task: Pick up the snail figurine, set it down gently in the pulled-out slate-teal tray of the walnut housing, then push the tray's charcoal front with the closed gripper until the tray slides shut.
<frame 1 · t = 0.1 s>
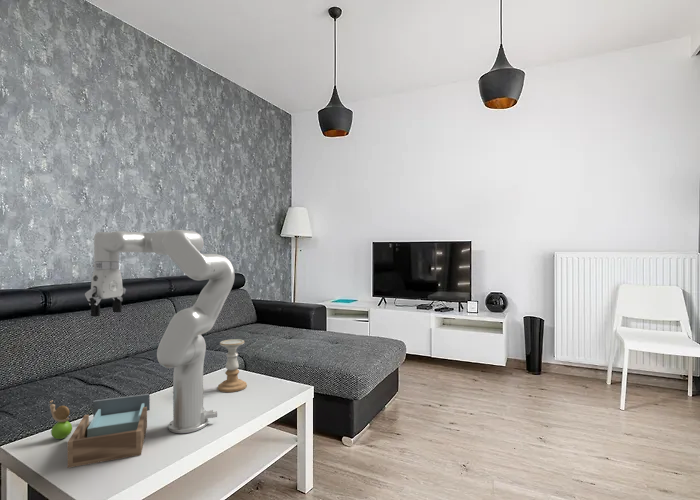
hand: (106, 314, 144), 37 cm above the table, tool pointing down, fingers open, 9 cm apart
snail figurine: (60, 438, 128), on the table
tray: (118, 414, 136), point 4 cm above the table, slide at 12.0 cm
candle holder: (232, 388, 175), on the table
housing: (111, 445, 123), on the table
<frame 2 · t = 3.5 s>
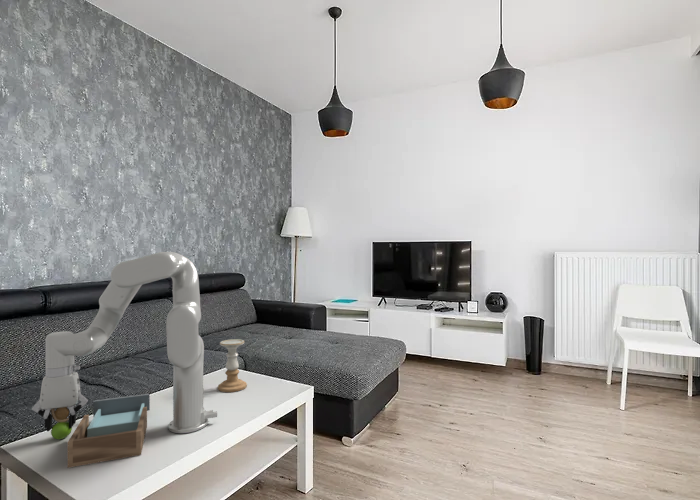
hand: (60, 427, 128), 3 cm above the table, tool pointing down, fingers closed on snail figurine, 5 cm apart
snail figurine: (60, 439, 128), on the table, touching gripper
everything else where it was.
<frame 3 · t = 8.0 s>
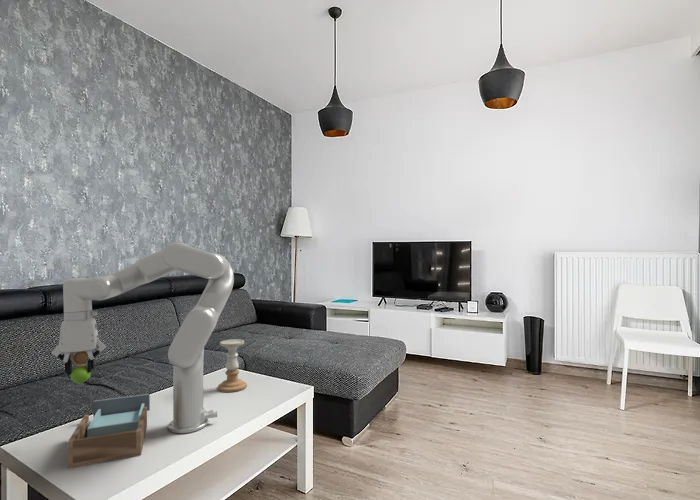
hand: (80, 371, 130), 21 cm above the table, tool pointing down, fingers closed on snail figurine, 5 cm apart
snail figurine: (79, 383, 129), point 17 cm above the table, touching gripper
everything else where it was.
when the fingers open (7 cm above the table, at t = 12.0 s): snail figurine stays where it is, resting on tray.
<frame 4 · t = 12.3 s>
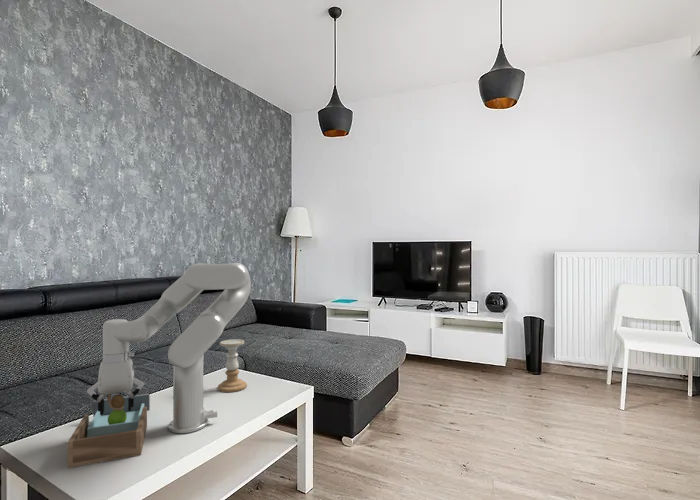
hand: (116, 410, 132), 7 cm above the table, tool pointing down, fingers open, 7 cm apart
snail figurine: (115, 426, 132), point 2 cm above the table, touching tray
tray: (118, 414, 136), point 4 cm above the table, slide at 12.0 cm, touching snail figurine
everything else where it was.
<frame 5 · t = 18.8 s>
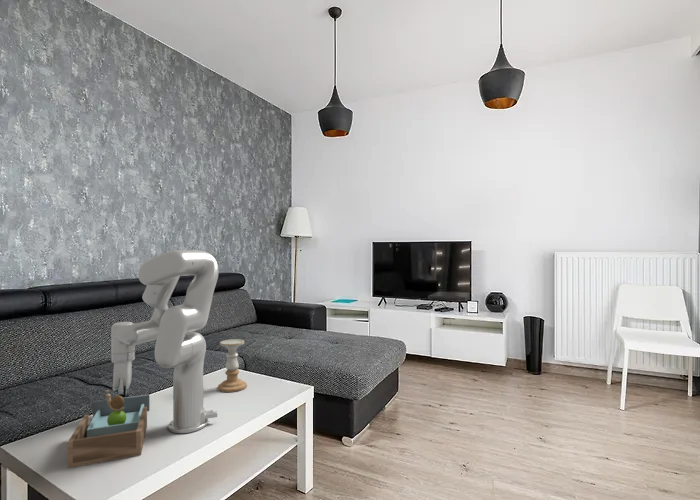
hand: (123, 406, 147), 3 cm above the table, tool pointing down, fingers closed
tray: (118, 415, 135), point 4 cm above the table, slide at 11.2 cm, touching gripper, snail figurine
everything else where it was.
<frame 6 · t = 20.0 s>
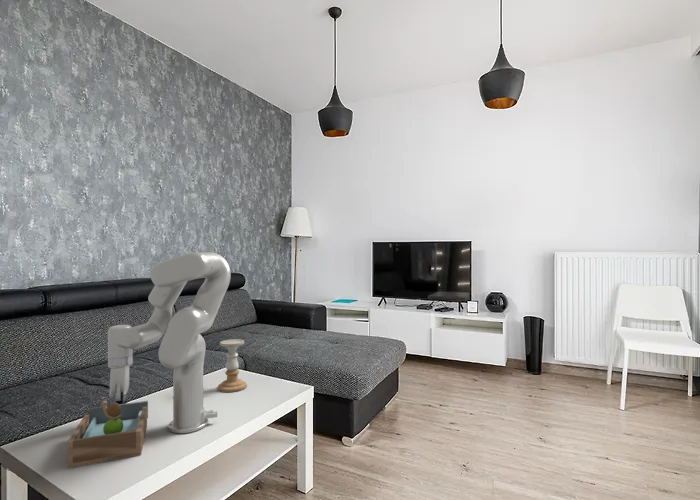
hand: (120, 413, 140), 3 cm above the table, tool pointing down, fingers closed
snail figurine: (111, 436, 125), point 2 cm above the table, touching tray
tray: (114, 423, 129), point 4 cm above the table, slide at 4.4 cm, touching gripper, snail figurine
everything else where it was.
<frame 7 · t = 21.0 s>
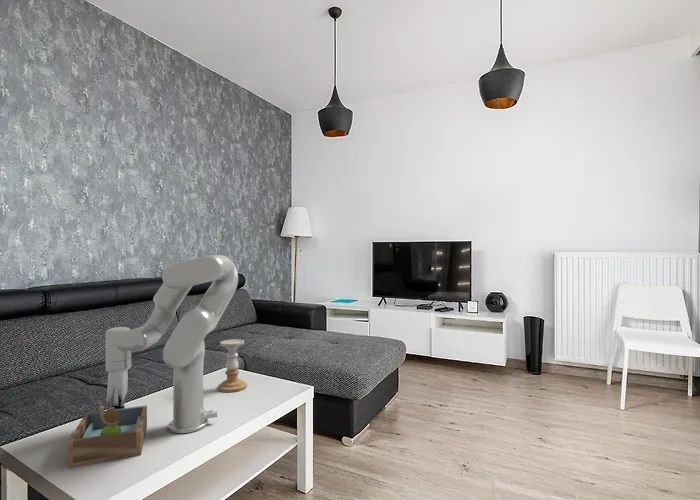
hand: (118, 418, 136), 3 cm above the table, tool pointing down, fingers closed
snail figurine: (109, 443, 121), point 2 cm above the table, touching tray
tray: (112, 429, 125), point 4 cm above the table, slide at -0.2 cm, touching gripper, snail figurine
everything else where it was.
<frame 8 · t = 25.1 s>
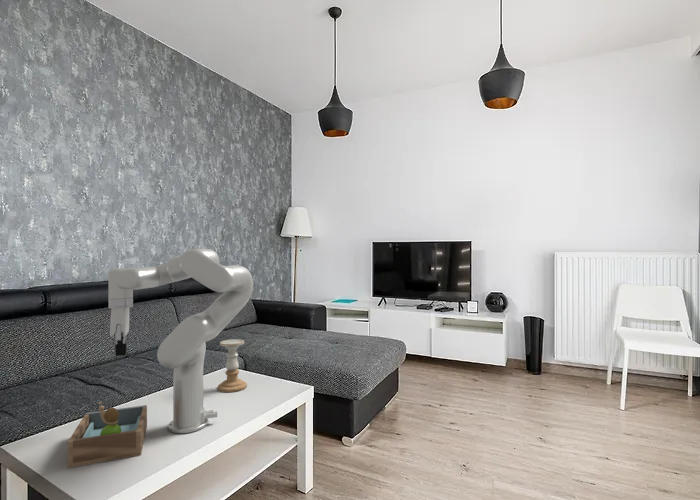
hand: (121, 354, 142), 23 cm above the table, tool pointing down, fingers closed
tray: (112, 429, 125), point 4 cm above the table, slide at 0.0 cm, touching snail figurine
everything else where it was.
at the end: tray slide at 0.0 cm; snail figurine inside the target area on the housing (1.9 cm from its centre), point 1.9 cm above the housing's base; snail figurine tilted 0° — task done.
